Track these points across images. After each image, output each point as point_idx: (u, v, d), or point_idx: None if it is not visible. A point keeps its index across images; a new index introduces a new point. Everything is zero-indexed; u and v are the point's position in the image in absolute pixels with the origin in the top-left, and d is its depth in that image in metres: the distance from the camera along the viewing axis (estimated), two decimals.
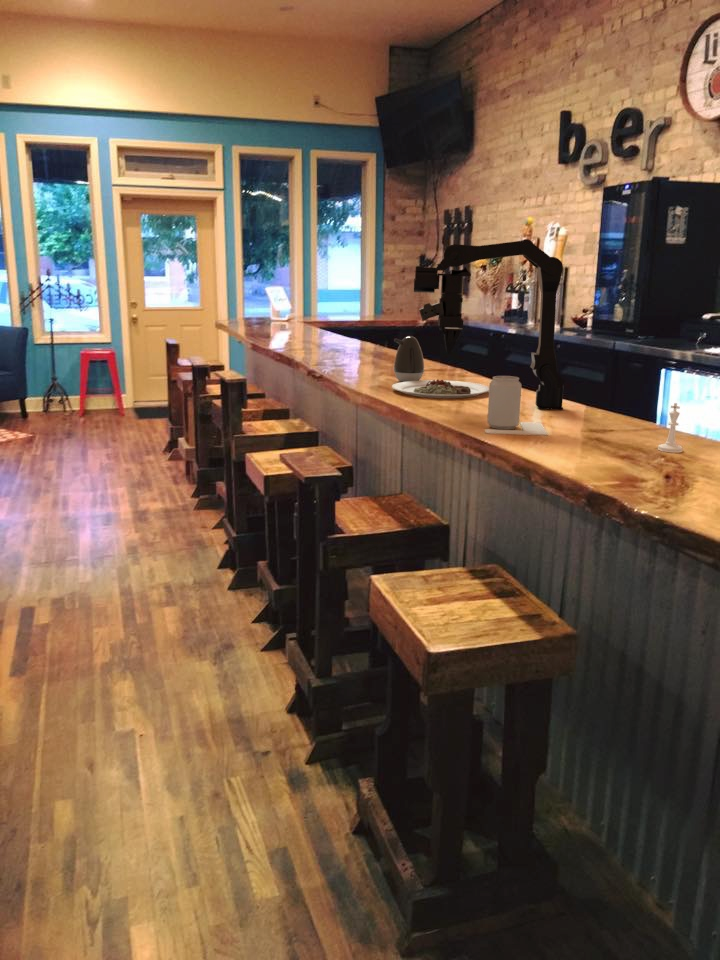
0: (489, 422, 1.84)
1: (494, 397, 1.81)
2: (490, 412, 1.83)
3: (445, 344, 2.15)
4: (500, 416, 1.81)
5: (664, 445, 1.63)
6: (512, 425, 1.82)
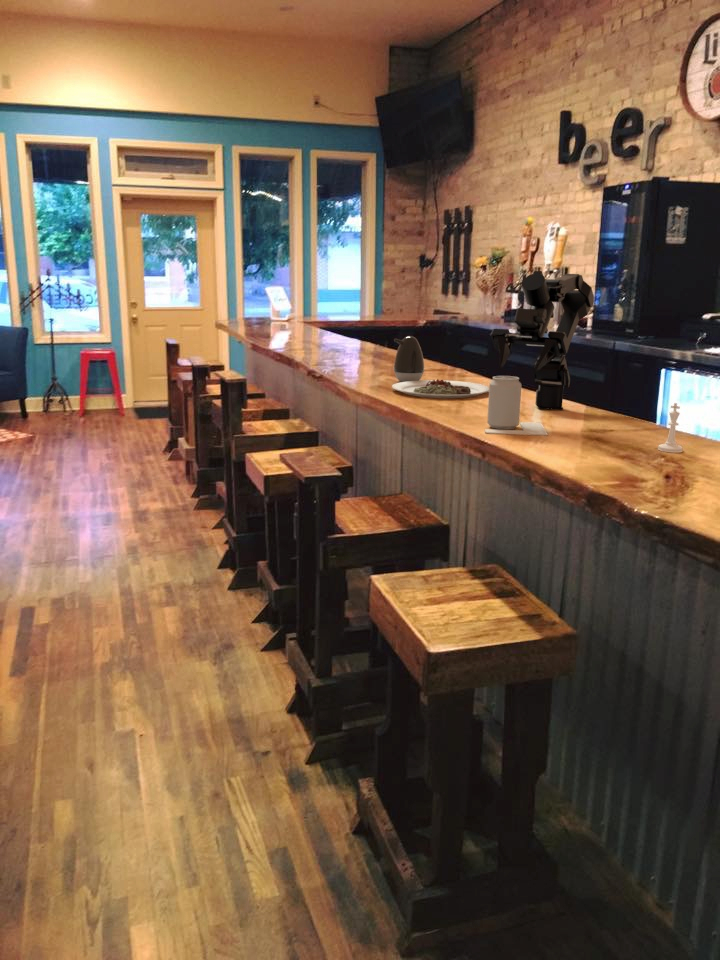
0: (489, 422, 1.84)
1: (494, 397, 1.81)
2: (490, 412, 1.83)
3: (503, 358, 1.91)
4: (500, 416, 1.81)
5: (664, 445, 1.63)
6: (512, 425, 1.82)
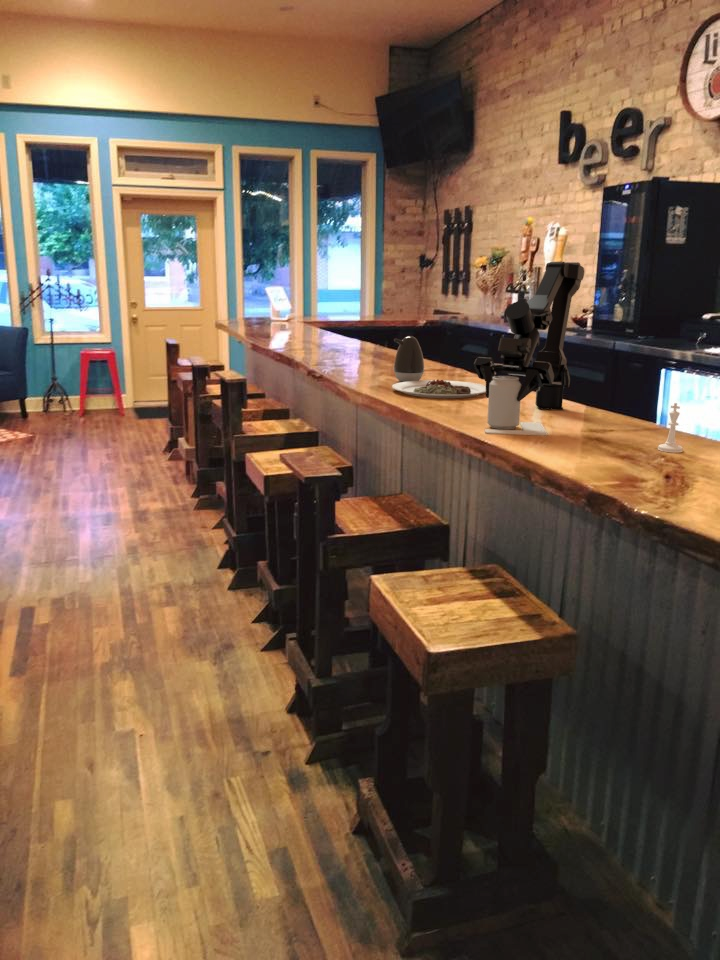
0: (489, 422, 1.84)
1: (493, 397, 1.81)
2: (490, 412, 1.83)
3: None
4: (499, 416, 1.81)
5: (664, 445, 1.63)
6: (512, 425, 1.82)
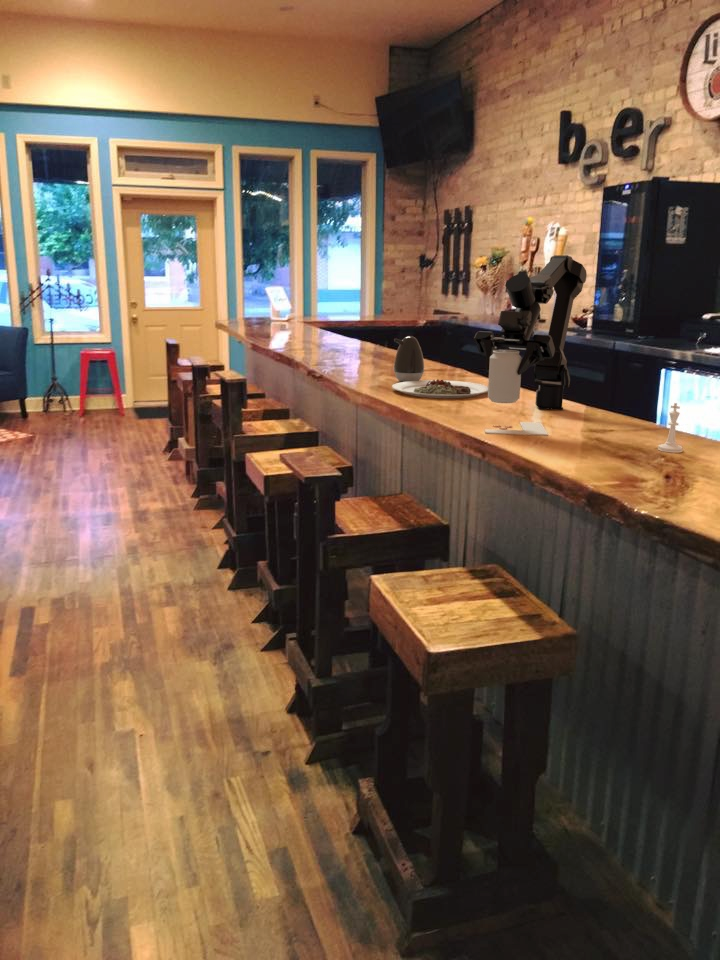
0: (489, 396, 1.82)
1: (494, 371, 1.80)
2: (490, 386, 1.81)
3: None
4: (500, 389, 1.80)
5: (664, 445, 1.63)
6: (512, 399, 1.80)
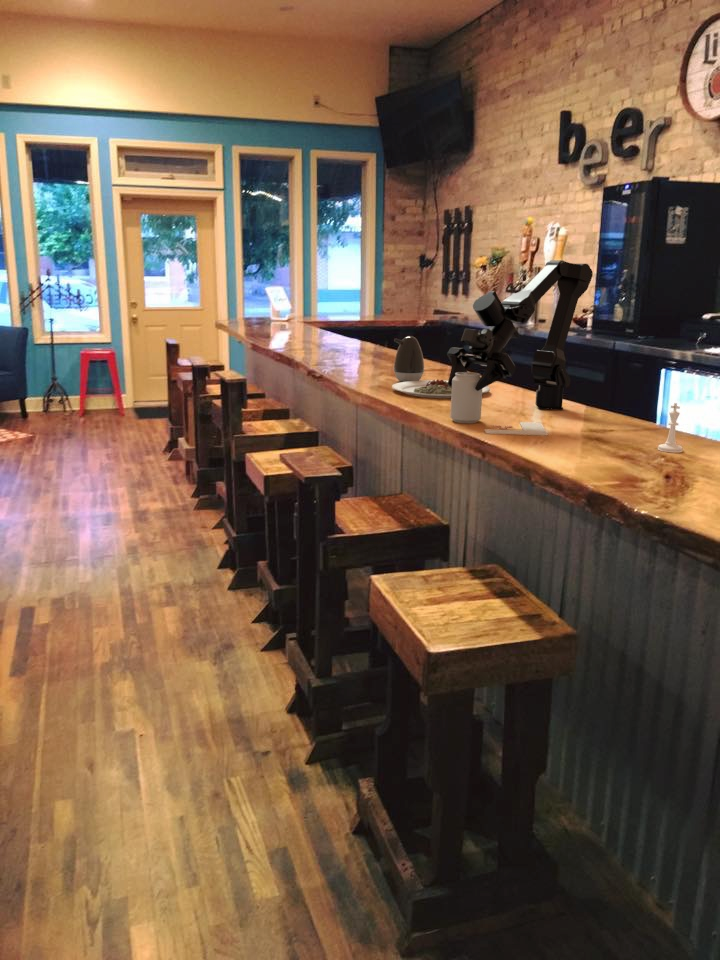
0: None
1: (453, 392, 1.89)
2: (451, 406, 1.91)
3: (451, 377, 1.93)
4: (457, 409, 1.89)
5: (664, 445, 1.63)
6: (469, 419, 1.89)
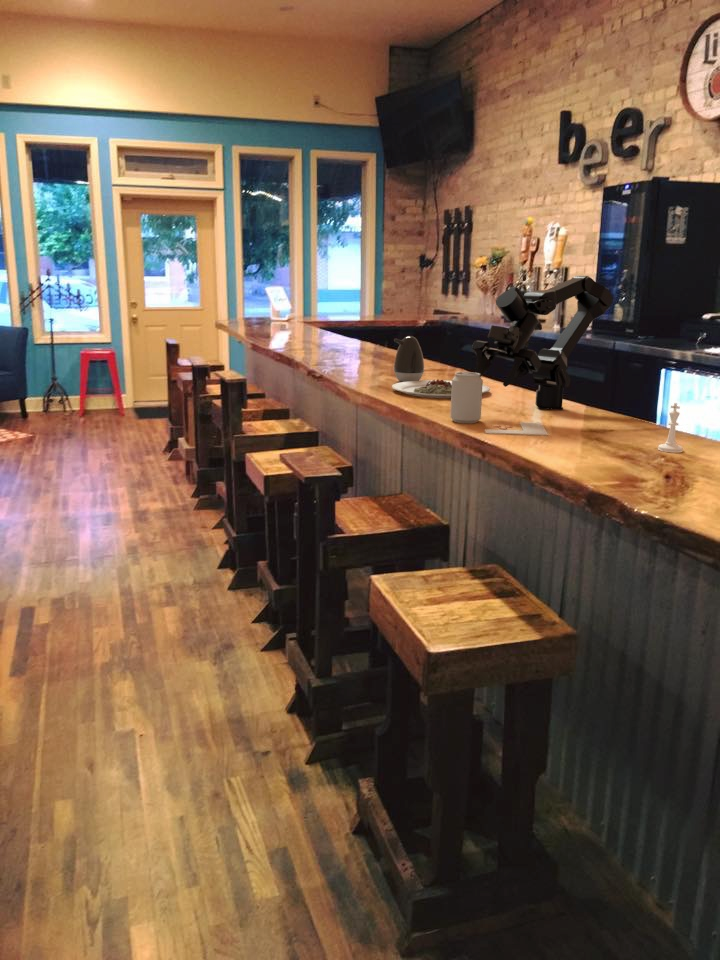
0: None
1: (453, 392, 1.89)
2: (451, 406, 1.91)
3: (477, 372, 1.98)
4: (457, 410, 1.89)
5: (664, 445, 1.63)
6: (469, 419, 1.89)
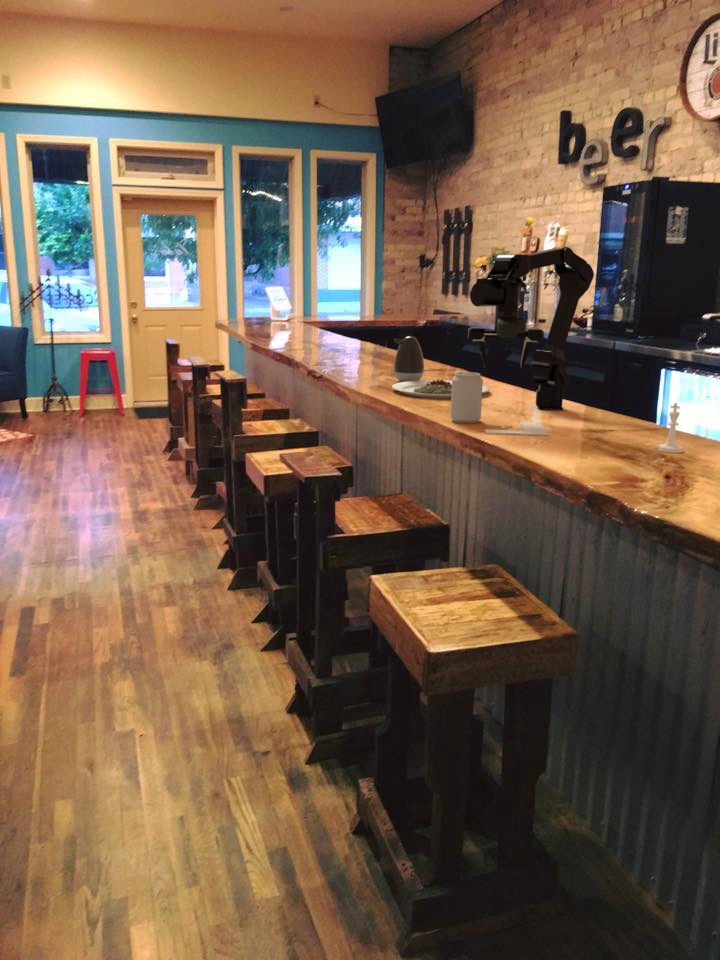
0: None
1: (453, 392, 1.89)
2: (451, 406, 1.91)
3: None
4: (457, 410, 1.89)
5: (664, 445, 1.63)
6: (469, 419, 1.89)
